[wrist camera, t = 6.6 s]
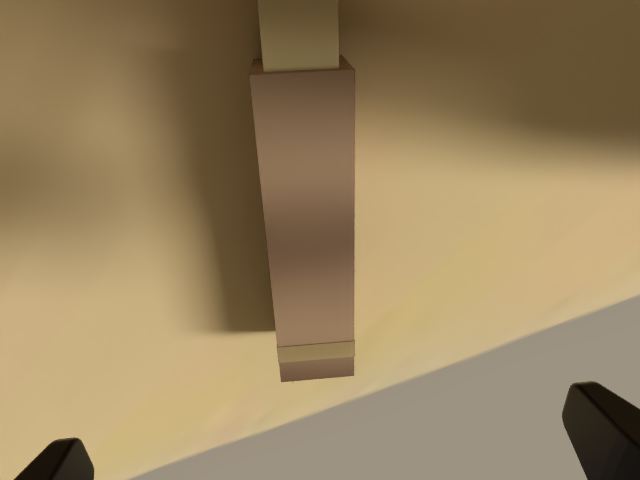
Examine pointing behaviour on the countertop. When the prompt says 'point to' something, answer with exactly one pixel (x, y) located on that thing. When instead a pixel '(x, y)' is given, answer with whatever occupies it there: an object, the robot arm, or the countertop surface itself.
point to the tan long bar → (307, 184)
